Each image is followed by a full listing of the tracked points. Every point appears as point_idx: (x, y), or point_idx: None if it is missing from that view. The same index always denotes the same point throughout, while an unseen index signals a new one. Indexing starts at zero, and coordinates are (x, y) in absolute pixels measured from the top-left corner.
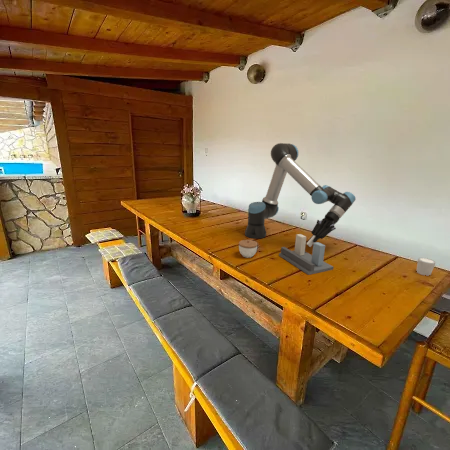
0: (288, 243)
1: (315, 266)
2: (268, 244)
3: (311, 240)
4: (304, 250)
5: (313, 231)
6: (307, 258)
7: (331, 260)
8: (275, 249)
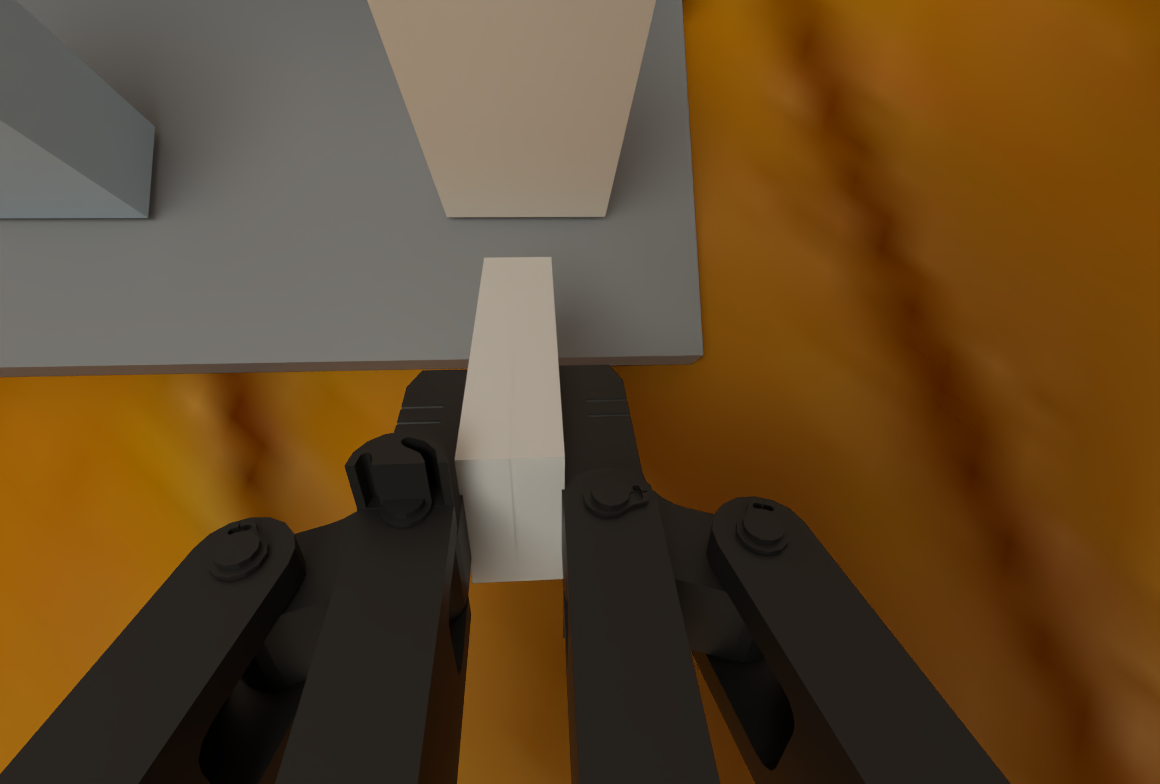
0: (1091, 393)
1: None
2: (1114, 51)
3: (474, 327)
4: (429, 161)
5: (757, 588)
6: (321, 187)
7: None
8: (893, 35)
